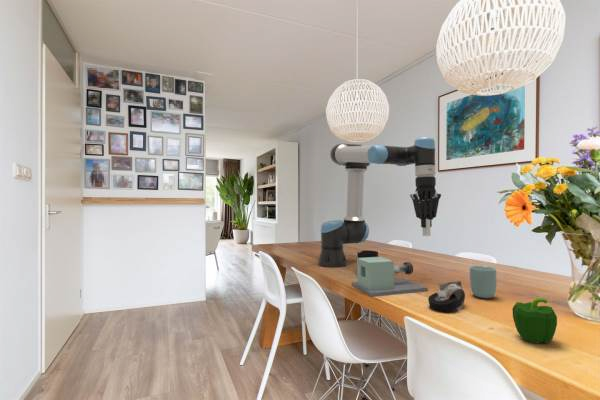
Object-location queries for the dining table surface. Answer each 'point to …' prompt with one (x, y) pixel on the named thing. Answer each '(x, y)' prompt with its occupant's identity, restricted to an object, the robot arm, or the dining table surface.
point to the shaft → (404, 268)
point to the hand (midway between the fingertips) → (426, 235)
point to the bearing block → (382, 278)
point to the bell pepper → (535, 321)
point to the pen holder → (367, 254)
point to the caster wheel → (447, 297)
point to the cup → (483, 281)
